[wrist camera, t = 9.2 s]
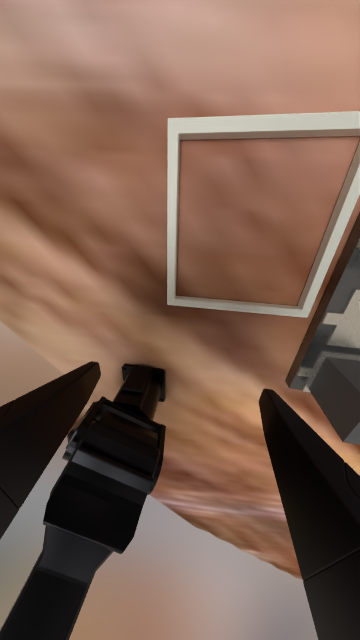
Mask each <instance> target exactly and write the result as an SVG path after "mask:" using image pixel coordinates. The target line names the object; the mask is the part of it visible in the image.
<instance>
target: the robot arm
mask: <svg viewBox="0 0 360 640" xmlns="http://www.w3.org/2000/svg"><path fill="white" fill-rule="evenodd" d="M122 373H123V380H124V383H123V385H122V386H121V388H120V390H119V392H118V393H117V395H116V397H115V399H114V400H113V402H112V401H109V400H107V399H106V398H105V397H103V396H102V397H101V399H100V400H99V401H97V402H93V403H92V405H91V406H90V408H89V409H88V411H87V412H86V413H85V415H84V416H83V417H82V418H81V419H80V421H79V422H78V423H77V424H76V425H75V426H74V427H73V429H72V430H71V431H70V429H71V427H72V426H73V424H74V423H75V421H76V420H77V418H78V416H79V415H80V413H81V412H82V410H83V409H84V407H85V405H86V404H87V402H88V400H89V398H90V396H91V394H92V392H93V390H94V388H95V386H96V384H97V382H98V380H99V379H100V376H101V371H100V366H99V363H98V362H89V363H87V364H85V365H83V366H81V367H79V368H77V369H75V370H73V371H71V372H69V373H67V374H65V375H63V376H61V377H59V378H57V379H55V380H53V381H51V382H49V383H47V384H45V385H43V386H41V387H39V388H37V389H35V390H33V391H31V392H29V393H27V394H25V395H23V396H21V397H19V398H17V399H16V400H13V401H11V402H9V403H7V404H5V405H3V406H1V407H0V539H1V537H2V536H3V534H4V533H5V531H6V530H7V528H8V527H9V525H10V523H11V522H12V520H13V518H14V517H15V515H16V514H17V512H18V511H19V508H20V507H21V506H22V504H23V503H24V501H25V500H26V498H27V496H28V495H29V493H30V492H31V490H32V489H33V487H34V485H35V483H36V482H37V481H38V479H39V478H40V476H41V475H42V473H43V471H44V470H45V468H46V467H47V465H48V464H49V462H50V460H51V459H52V457H53V456H54V454H55V453H56V451H57V449H58V448H59V446H60V445H61V443H62V441H63V440H64V438H65V437H66V435H67V434H68V432H69V431H70V432H69V434H68V436H67V438H68V445H67V447H66V449H67V450H66V452H65V453H64V455H63V459H64V460H67V461H68V463H67V465H66V466H65V468H64V470H63V472H62V474H61V476H60V477H59V479H58V480H57V482H56V484H55V485H54V487H53V489H52V491H51V493H50V498H49V500H48V502H47V505H46V510H45V515H44V520H43V524H44V525H46V528H45V536H44V543H43V550H42V552H41V554H40V556H39V557H38V560H37V561H36V563H35V565H34V567H33V569H32V571H31V573H30V575H29V576H28V578H27V580H26V582H25V584H24V586H23V588H22V589H21V591H20V593H19V595H18V597H17V599H16V601H15V603H14V605H13V606H12V608H11V610H10V612H9V614H8V616H7V618H6V620H5V622H4V624H3V626H2V627H1V629H0V640H69V638H70V635H71V633H72V630H73V628H74V625H75V623H76V620H77V617H78V615H79V612H80V610H81V607H82V604H83V602H84V599H85V597H86V594H87V592H88V589H89V586H90V584H91V582H92V579H93V577H94V574H95V572H96V570H97V569H98V568H99V567H100V566H101V565H102V564H103V563H104V561H105V560H106V559H107V558H108V557H109V556H110V555H111V554H112V552H113V551H114V552H117V553H119V554H121V553H123V552H124V550H125V549H126V547H127V546H128V545H129V543H130V542H131V540H132V539H133V537H134V534H135V531H136V527H137V524H138V521H139V517H140V514H141V511H142V508H143V505H144V502H145V499H146V496H147V495H149V494H150V493H151V492H152V490H153V489H154V487H155V485H156V482H157V480H158V477H159V474H160V470H161V467H162V462H163V453H164V441H165V429H166V426H164V425H162V424H161V425H160V424H158V423H156V422H154V421H153V417H154V414H155V411H156V407H157V404H158V401H160V402H164V401H165V371H164V370H163V369H156V368H149V367H142V366H134V365H127V364H124V365H123V366H122ZM259 406H260V412H261V419H262V425H263V431H264V436H265V440H266V444H267V448H268V452H269V455H270V459H271V463H272V467H273V470H274V474H275V478H276V482H277V485H278V489H279V493H280V497H281V500H282V504H283V508H284V512H285V515H286V519H287V523H288V527H289V531H290V534H291V538H292V542H293V546H294V549H295V553H296V557H297V561H298V564H299V568H300V572H301V576H302V579H303V580H304V581H303V583H304V587H305V591H306V595H307V599H308V602H309V606H310V610H311V613H312V617H313V621H314V625H315V629H316V632H317V636H318V640H360V476H359V475H358V474H357V473H356V472H355V471H354V470H353V469H352V468H351V467H350V466H349V465H348V464H347V463H346V462H344V460H343V459H342V458H341V457H340V456H339V455H338V454H337V453H336V452H335V451H334V450H333V449H332V448H331V447H330V446H329V445H328V444H327V443H326V442H325V441H324V440H323V439H322V438H321V437H320V436H319V435H318V434H317V433H316V432H315V431H314V430H313V429H312V428H311V427H310V426H309V425H308V424H307V423H306V422H305V421H304V420H303V419H302V418H301V417H300V416H299V415H298V414H297V413H296V412H295V411H294V410H293V409H292V408H291V407H290V406H289V405H288V404H287V403H286V402H285V401H284V400H283V399H282V398H281V397H280V396H279V395H278V394H277V393H276V392H275V391H274V390H272V389H263V391H262V394H261V396H260V399H259Z"/></svg>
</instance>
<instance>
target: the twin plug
mask: <svg viewBox="0 0 360 640" xmlns="http://www.w3.org/2000/svg"><path fill="white" fill-rule="evenodd" d="M309 390H310V392H311V393H312V395H313V397H314V398H315V400H316V401H317V403H318V404H319V406H320V407H321V409H322V411H323V412H324V414H325V415H326V417H327V418H328V420H329V421H330V423H331V424H332V426H333V428H334V429H335V431H336V432H337V434H338V435H339V437H340V438H341V440H342V442H346V443H352V444H358V445H360V361H358V360H350V359H341V358H332V357H326V358H325V360H324V362H323V364H322V365H321V367H320V369H319V371H318V373H317V375H316V376H315V378H314V380H313V382H312V384H311V386H310V387H309Z"/></svg>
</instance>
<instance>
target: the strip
mask: <svg viewBox="0 0 360 640" xmlns="http://www.w3.org/2000/svg"><path fill="white" fill-rule="evenodd" d="M326 357H332V358H341V359H350V360H358V361H360V213H359V216H358V218H357V220H356V222H355V225H354V227H353V229H352V231H351V234H350V236H349V238H348V240H347V243H346V245H345V247H344V250H343V252H342V254H341V256H340V259H339V261H338V263H337V265H336V268H335V270H334V272H333V274H332V277H331V279H330V281H329V284H328V286H327V288H326V290H325V293H324V295H323V297H322V299H321V302H320V304H319V306H318V308H317V311H316V313H315V315H314V317H313V320H312V322H311V324H310V327H309V329H308V331H307V333H306V336H305V338H304V340H303V342H302V345H301V347H300V349H299V351H298V354H297V356H296V358H295V361H294V363H293V365H292V367H291V370H290V372H289V374H288V376H287V379H286V383H287V385H288V387H289V388H291V389H299V390H302V391H304V392H310V390H309V387H310V386H311V384H312V382H313V380H314V378H315V376H316V375H317V373H318V371H319V369H320V367H321V365H322V364H323V362H324V360H325V358H326Z"/></svg>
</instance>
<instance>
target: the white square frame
mask: <svg viewBox="0 0 360 640" xmlns="http://www.w3.org/2000/svg"><path fill="white" fill-rule="evenodd" d="M336 136H360V111H352V112H326V113H299V114H273V115H246V116H220V117H193V118H168V225H167V305H174V306H185V307H196V308H207V309H218V310H228V311H239V312H250V313H261V314H272V315H282V316H293V317H304V318H307V317H308V315H309V313H310V310H311V308H312V306H313V303H314V301H315V299H316V296H317V294H318V292H319V289H320V287H321V284H322V282H323V280H324V277H325V275H326V273H327V270H328V268H329V266H330V263H331V261H332V258H333V256H334V254H335V251H336V249H337V247H338V244H339V242H340V240H341V237H342V235H343V232H344V230H345V228H346V225H347V223H348V221H349V218H350V216H351V214H352V211H353V209H354V207H355V204H356V202H357V199H358V197H359V195H360V142H359V145H358V148H357V150H356V153H355V155H354V158H353V161H352V163H351V166H350V169H349V171H348V174H347V177H346V179H345V182H344V184H343V187H342V190H341V192H340V195H339V198H338V200H337V203H336V205H335V208H334V211H333V213H332V216H331V219H330V221H329V224H328V227H327V229H326V232H325V234H324V237H323V240H322V242H321V245H320V248H319V250H318V253H317V255H316V258H315V261H314V263H313V266H312V269H311V271H310V274H309V277H308V279H307V282H306V284H305V287H304V290H303V292H302V295H301V298H300V300H299V303H298V305H297V306H290V305H278V304H266V303H255V302H243V301H231V300H219V299H208V298H196V297H184V296H176V277H177V241H178V205H179V169H180V140H202V139H247V138H291V137H336Z"/></svg>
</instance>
